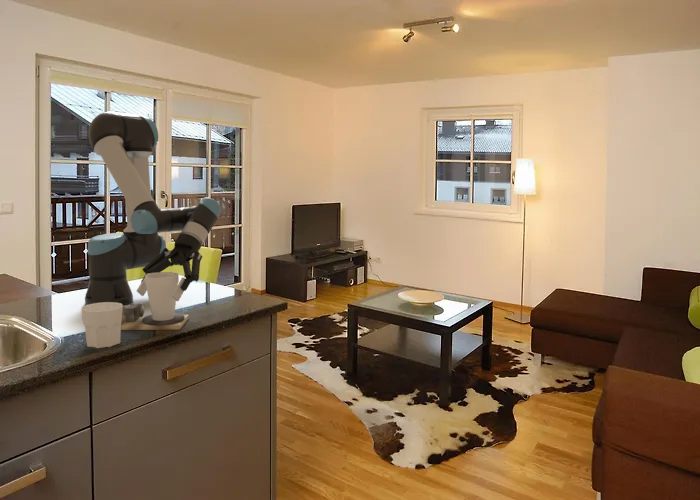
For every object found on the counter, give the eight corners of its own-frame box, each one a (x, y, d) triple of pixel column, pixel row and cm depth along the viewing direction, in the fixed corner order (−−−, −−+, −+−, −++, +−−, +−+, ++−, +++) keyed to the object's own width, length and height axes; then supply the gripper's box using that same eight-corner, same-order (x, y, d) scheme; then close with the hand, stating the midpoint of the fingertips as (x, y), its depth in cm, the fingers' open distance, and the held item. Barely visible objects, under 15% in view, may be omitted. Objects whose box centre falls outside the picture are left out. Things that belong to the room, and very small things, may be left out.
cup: (74, 346, 142) (71, 309, 140) (103, 335, 151) (102, 300, 150) (103, 351, 138) (102, 313, 137) (132, 340, 148) (131, 304, 146)
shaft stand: (101, 330, 156) (100, 308, 155) (115, 318, 168) (114, 299, 167) (179, 329, 158) (179, 308, 157) (188, 318, 170) (187, 298, 169)
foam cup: (169, 323, 158) (167, 279, 156) (140, 320, 160) (138, 277, 158) (185, 314, 167) (184, 273, 165) (157, 312, 169) (156, 271, 167)
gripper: (228, 250, 169) (196, 307, 158) (167, 244, 179) (133, 298, 168) (217, 234, 163) (183, 293, 152) (154, 229, 174) (118, 284, 163)
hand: (156, 296), depth 160 cm, fingers open, 13 cm apart
